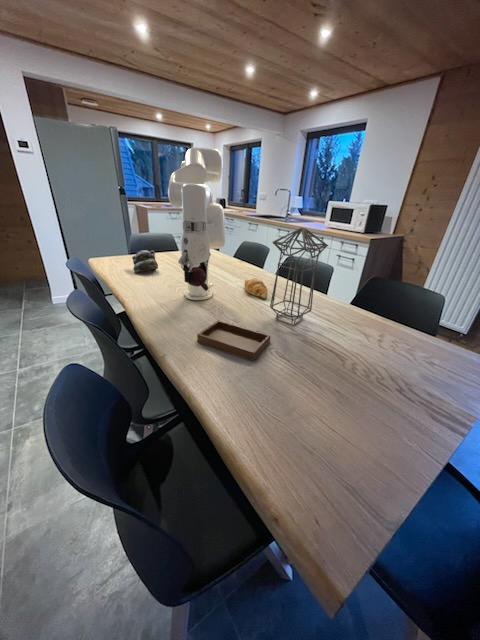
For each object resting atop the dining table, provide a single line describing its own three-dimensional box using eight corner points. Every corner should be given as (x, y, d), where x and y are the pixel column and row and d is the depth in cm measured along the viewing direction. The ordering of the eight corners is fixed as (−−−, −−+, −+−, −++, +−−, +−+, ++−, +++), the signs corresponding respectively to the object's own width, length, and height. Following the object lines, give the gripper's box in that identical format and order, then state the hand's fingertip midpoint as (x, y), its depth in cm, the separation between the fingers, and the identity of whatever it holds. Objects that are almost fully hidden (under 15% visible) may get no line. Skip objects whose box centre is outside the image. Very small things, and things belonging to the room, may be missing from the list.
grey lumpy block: (129, 273, 150) (124, 249, 150) (140, 276, 162) (135, 254, 162) (154, 267, 148) (148, 243, 148) (163, 270, 160) (158, 248, 160)
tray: (217, 326, 97) (218, 320, 96) (269, 342, 88) (270, 335, 87) (197, 341, 87) (197, 334, 86) (253, 361, 78) (254, 353, 77)
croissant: (270, 305, 127) (278, 291, 125) (254, 298, 121) (263, 283, 119) (249, 290, 143) (256, 277, 142) (235, 283, 137) (242, 270, 136)
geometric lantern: (262, 318, 105) (270, 226, 90) (284, 308, 116) (295, 224, 101) (295, 332, 96) (312, 232, 81) (316, 319, 107) (334, 229, 91)
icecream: (175, 264, 94) (194, 279, 84) (193, 257, 97) (214, 271, 87) (179, 281, 98) (198, 297, 88) (197, 274, 101) (217, 289, 91)
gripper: (186, 230, 76) (188, 288, 84) (219, 225, 90) (218, 276, 98) (166, 228, 79) (170, 284, 87) (201, 223, 93) (202, 272, 101)
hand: (196, 279), depth 93 cm, fingers closed on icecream, 7 cm apart
